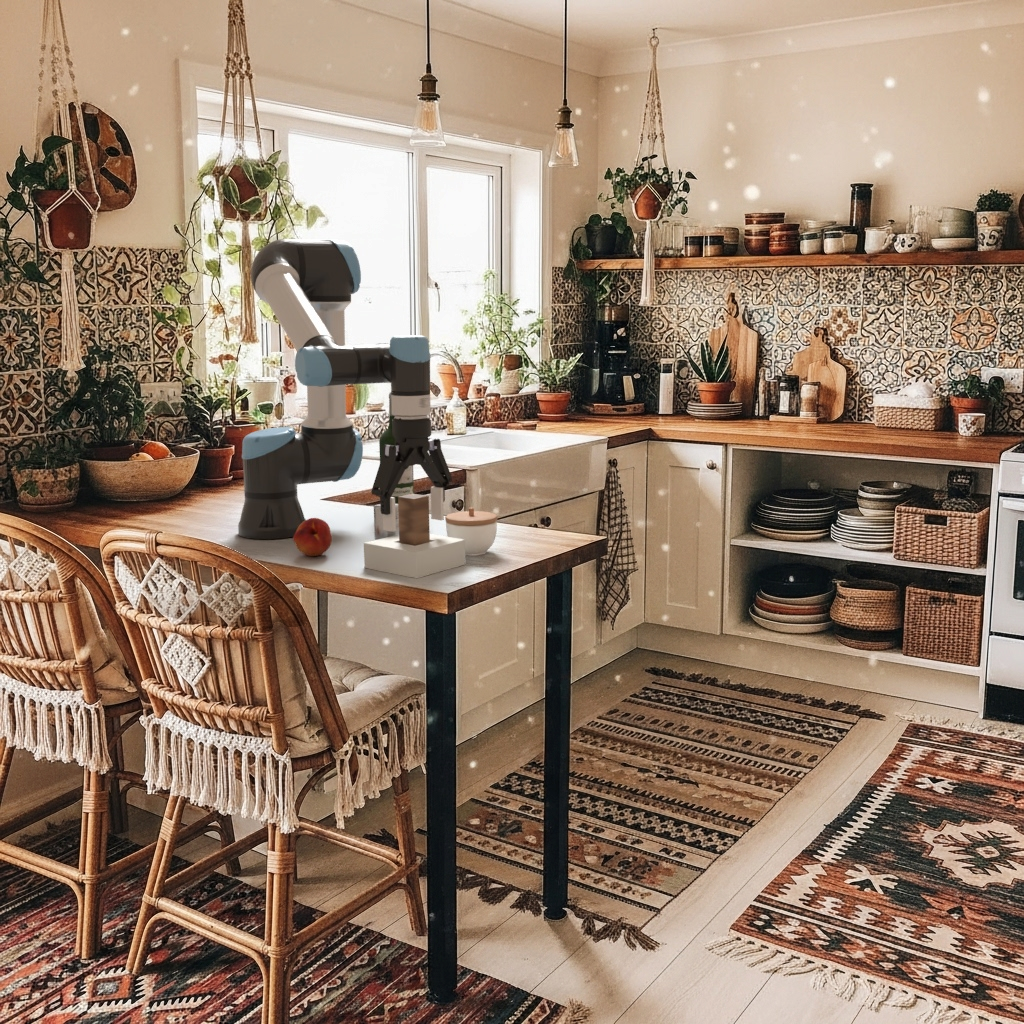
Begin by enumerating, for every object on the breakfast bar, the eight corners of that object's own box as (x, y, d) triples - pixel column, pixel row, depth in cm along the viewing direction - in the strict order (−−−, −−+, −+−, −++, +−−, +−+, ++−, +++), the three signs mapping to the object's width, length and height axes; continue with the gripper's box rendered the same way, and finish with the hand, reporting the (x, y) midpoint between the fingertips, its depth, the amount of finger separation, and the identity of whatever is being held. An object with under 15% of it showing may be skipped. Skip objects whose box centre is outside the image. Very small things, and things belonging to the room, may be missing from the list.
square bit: (400, 566, 223) (398, 496, 221) (414, 562, 227) (413, 493, 224) (415, 569, 221) (413, 499, 218) (430, 565, 224) (428, 495, 221)
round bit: (369, 554, 235) (367, 506, 233) (389, 549, 239) (388, 502, 237) (389, 558, 231) (388, 509, 229) (410, 552, 235) (409, 505, 234)
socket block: (364, 567, 223) (363, 542, 222) (413, 554, 233) (413, 531, 233) (416, 578, 214) (415, 552, 213) (465, 564, 225) (464, 539, 224)
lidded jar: (508, 551, 236) (508, 507, 234) (472, 560, 228) (472, 515, 226) (471, 544, 243) (470, 501, 241) (435, 553, 235) (434, 508, 233)
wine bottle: (392, 521, 268) (388, 394, 262) (375, 516, 274) (371, 392, 268) (420, 517, 272) (417, 392, 267) (403, 512, 279) (400, 390, 273)
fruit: (288, 560, 230) (286, 521, 229) (301, 551, 238) (300, 513, 236) (325, 561, 229) (324, 522, 227) (338, 552, 237) (336, 514, 235)
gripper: (378, 424, 206) (382, 538, 210) (468, 412, 225) (470, 517, 229) (350, 421, 211) (354, 533, 215) (440, 410, 230) (442, 512, 234)
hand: (414, 525), depth 222 cm, fingers open, 13 cm apart
